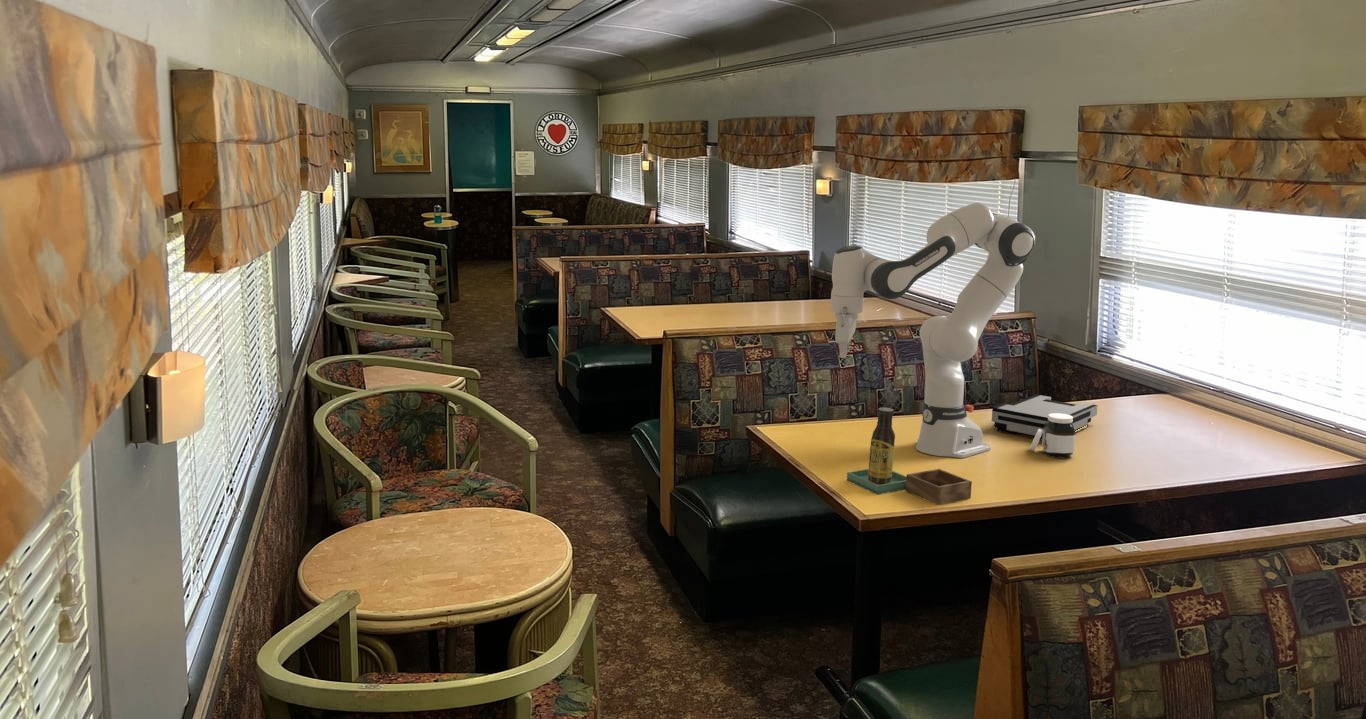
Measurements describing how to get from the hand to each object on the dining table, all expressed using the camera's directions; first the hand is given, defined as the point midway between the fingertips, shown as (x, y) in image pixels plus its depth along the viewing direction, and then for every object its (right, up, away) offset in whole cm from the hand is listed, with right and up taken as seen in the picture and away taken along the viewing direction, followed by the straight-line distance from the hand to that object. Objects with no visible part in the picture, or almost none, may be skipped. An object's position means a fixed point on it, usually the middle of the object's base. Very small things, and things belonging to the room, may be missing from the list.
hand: (844, 354), depth 299 cm
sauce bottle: (+7, -34, -14) cm, 37 cm away
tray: (+7, -35, -14) cm, 38 cm away
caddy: (+21, -36, -21) cm, 47 cm away
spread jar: (+63, -29, +17) cm, 72 cm away
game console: (+71, -24, +45) cm, 88 cm away
